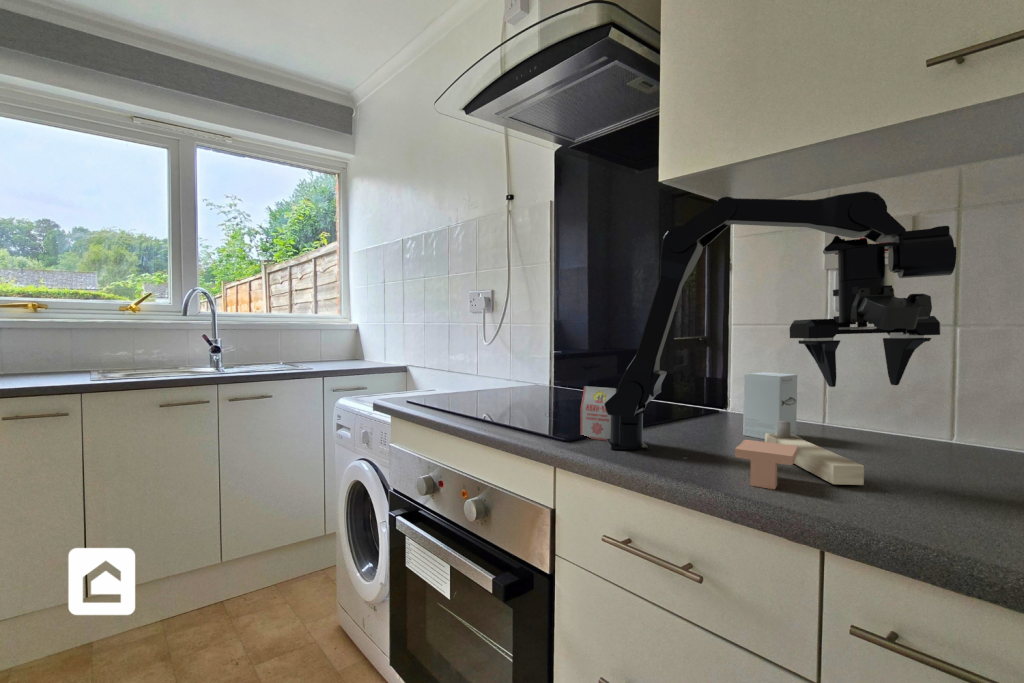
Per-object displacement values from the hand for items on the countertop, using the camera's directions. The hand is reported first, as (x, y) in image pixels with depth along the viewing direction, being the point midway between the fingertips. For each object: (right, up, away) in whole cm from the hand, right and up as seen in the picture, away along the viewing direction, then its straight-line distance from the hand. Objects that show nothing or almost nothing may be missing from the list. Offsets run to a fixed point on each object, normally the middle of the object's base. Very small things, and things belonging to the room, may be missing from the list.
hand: (863, 385), depth 74 cm
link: (-6, -13, +4) cm, 14 cm away
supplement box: (-1, -13, +25) cm, 28 cm away
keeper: (-16, -13, -4) cm, 21 cm away
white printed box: (-35, -13, +24) cm, 44 cm away
